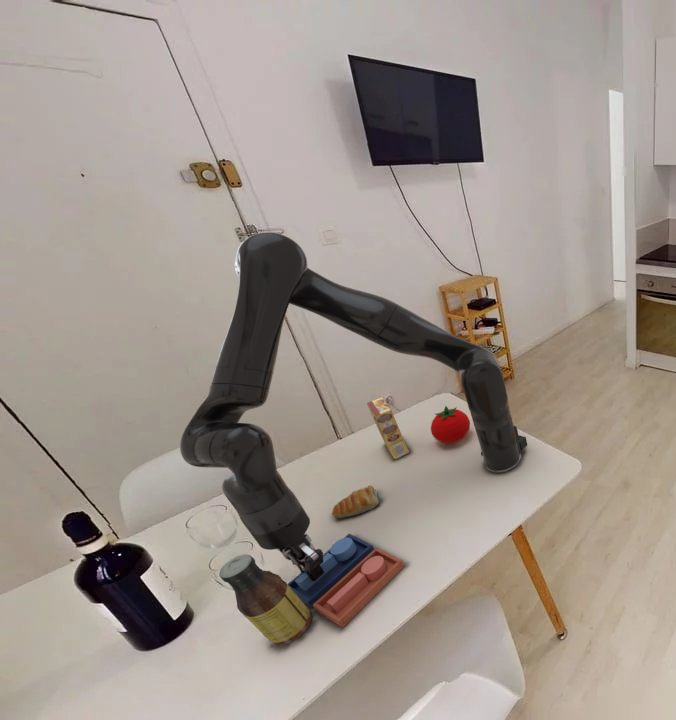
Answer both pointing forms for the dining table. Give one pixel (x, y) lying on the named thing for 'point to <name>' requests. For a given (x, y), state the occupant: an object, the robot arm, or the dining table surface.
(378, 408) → the candy box
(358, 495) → the pastry
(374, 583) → the rose tray
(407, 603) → the dining table surface
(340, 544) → the blue spoon
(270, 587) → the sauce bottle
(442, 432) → the tomato
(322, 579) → the blue tray
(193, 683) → the dining table surface
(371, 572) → the rose spoon
